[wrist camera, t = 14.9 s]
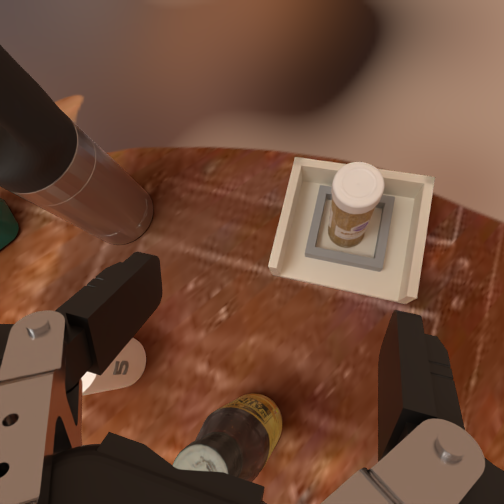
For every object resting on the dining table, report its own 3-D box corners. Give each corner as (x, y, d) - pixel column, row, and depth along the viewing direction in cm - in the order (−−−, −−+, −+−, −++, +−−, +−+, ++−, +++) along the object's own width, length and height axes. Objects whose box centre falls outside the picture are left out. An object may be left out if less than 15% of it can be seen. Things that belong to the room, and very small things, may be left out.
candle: (141, 392, 45) (60, 411, 30) (94, 383, 46) (-5, 397, 32) (152, 340, 46) (80, 335, 32) (106, 332, 47) (17, 324, 33)
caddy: (272, 275, 46) (267, 266, 41) (296, 175, 49) (295, 156, 44) (405, 304, 42) (416, 298, 38) (422, 195, 45) (435, 176, 41)
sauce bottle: (282, 391, 42) (256, 423, 23) (285, 450, 40) (259, 539, 21) (227, 391, 43) (159, 423, 24) (227, 450, 41) (154, 534, 22)
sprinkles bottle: (345, 256, 44) (358, 217, 31) (319, 230, 45) (321, 182, 33) (373, 231, 44) (396, 182, 32) (346, 206, 46) (358, 150, 33)
